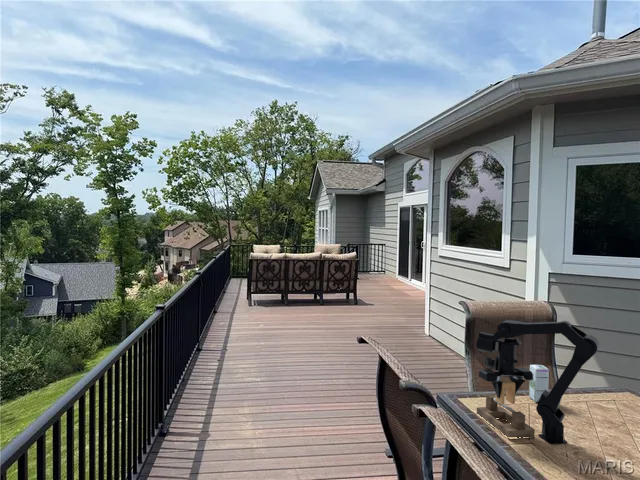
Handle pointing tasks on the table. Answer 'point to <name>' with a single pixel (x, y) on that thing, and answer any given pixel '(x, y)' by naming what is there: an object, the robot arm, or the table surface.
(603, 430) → the table surface
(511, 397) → the clip
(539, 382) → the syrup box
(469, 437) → the table surface
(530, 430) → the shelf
